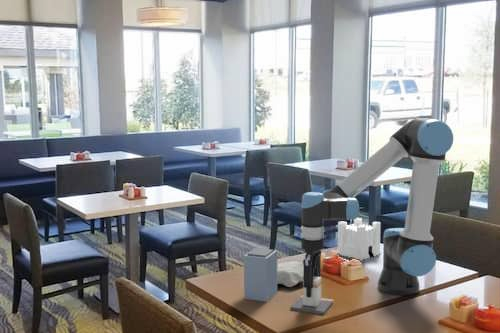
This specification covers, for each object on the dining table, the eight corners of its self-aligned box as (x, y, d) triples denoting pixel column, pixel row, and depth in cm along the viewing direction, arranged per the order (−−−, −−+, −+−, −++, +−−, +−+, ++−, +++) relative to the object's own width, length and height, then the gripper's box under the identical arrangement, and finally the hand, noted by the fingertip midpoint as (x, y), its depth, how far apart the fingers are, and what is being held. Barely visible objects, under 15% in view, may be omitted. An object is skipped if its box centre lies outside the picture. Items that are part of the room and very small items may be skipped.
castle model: (356, 248, 274) (357, 217, 272) (381, 254, 264) (381, 222, 262) (336, 254, 265) (336, 222, 263) (361, 260, 254) (361, 227, 252)
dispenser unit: (277, 292, 215) (277, 249, 213) (267, 301, 206) (267, 256, 204) (253, 289, 219) (252, 246, 217) (242, 298, 210) (242, 253, 208)
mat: (333, 302, 205) (333, 299, 205) (324, 314, 194) (324, 311, 194) (301, 298, 210) (301, 295, 210) (290, 309, 199) (290, 306, 199)
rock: (249, 265, 232) (307, 252, 238) (251, 281, 234) (309, 268, 240) (262, 281, 214) (325, 267, 220) (264, 299, 216) (327, 285, 221)
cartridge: (321, 301, 203) (321, 277, 202) (317, 306, 198) (317, 281, 197) (307, 299, 205) (307, 275, 204) (302, 304, 200) (302, 279, 199)
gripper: (309, 230, 208) (309, 292, 211) (293, 242, 192) (293, 310, 195) (330, 232, 205) (329, 295, 209) (315, 245, 189) (314, 313, 192)
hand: (312, 302), depth 202 cm, fingers closed on cartridge, 5 cm apart
